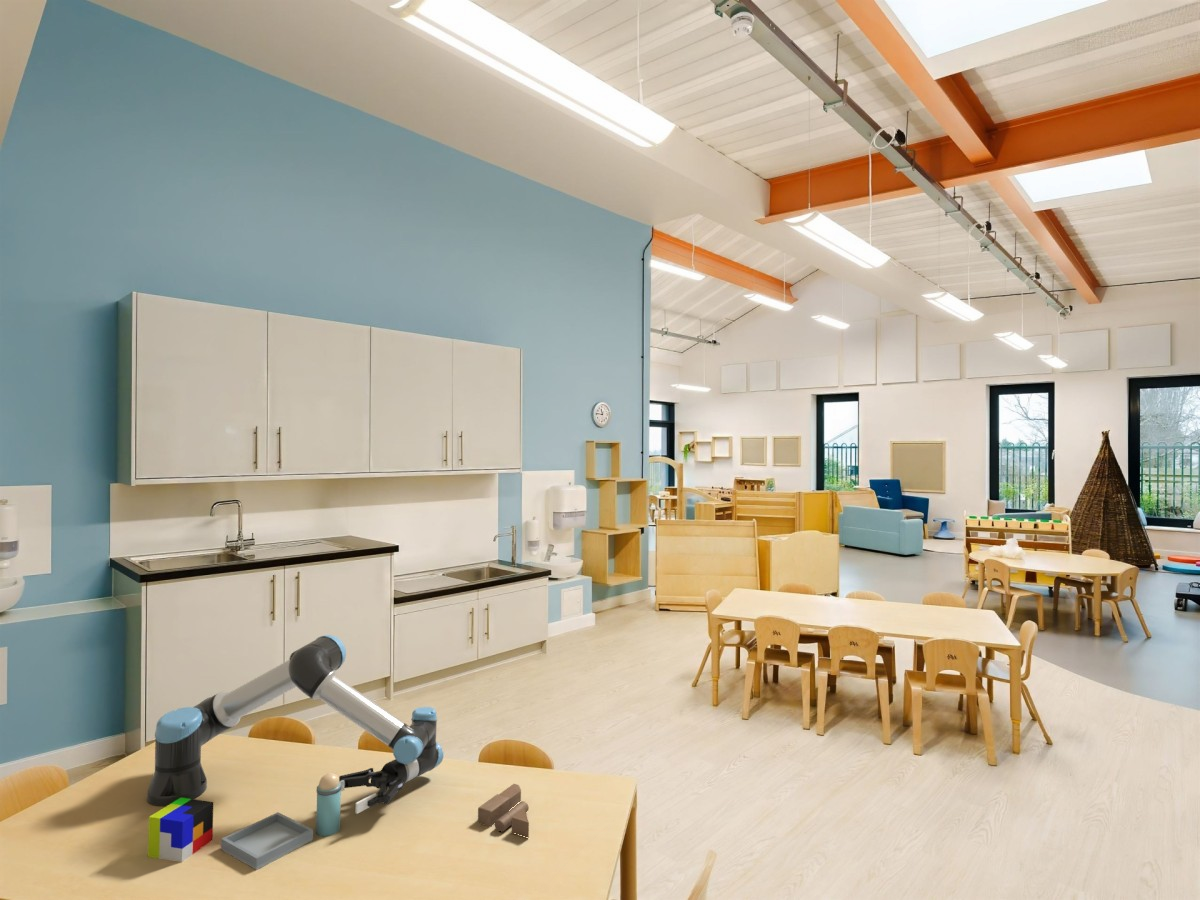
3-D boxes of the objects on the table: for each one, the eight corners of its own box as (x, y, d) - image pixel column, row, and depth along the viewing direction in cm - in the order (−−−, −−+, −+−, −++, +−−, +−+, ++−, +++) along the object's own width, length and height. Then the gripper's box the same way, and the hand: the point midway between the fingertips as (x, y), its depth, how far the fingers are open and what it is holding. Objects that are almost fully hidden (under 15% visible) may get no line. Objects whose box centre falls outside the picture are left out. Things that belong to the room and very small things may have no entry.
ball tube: (310, 831, 183) (312, 775, 183) (330, 821, 189) (331, 766, 189) (325, 839, 180) (326, 781, 180) (345, 828, 185) (346, 772, 185)
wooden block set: (475, 805, 189) (512, 778, 205) (475, 825, 189) (512, 797, 205) (526, 821, 181) (561, 792, 197) (526, 842, 181) (560, 811, 197)
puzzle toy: (181, 862, 169) (182, 821, 169) (147, 856, 171) (148, 816, 171) (212, 840, 179) (213, 802, 179) (179, 835, 181) (180, 797, 181)
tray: (221, 849, 174) (221, 838, 174) (277, 822, 188) (277, 812, 188) (256, 870, 166) (256, 858, 166) (313, 840, 179) (313, 829, 179)
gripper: (429, 795, 198) (370, 828, 180) (371, 773, 211) (310, 802, 193) (429, 769, 198) (371, 800, 180) (371, 748, 211) (311, 775, 193)
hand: (339, 801), depth 187 cm, fingers open, 13 cm apart
